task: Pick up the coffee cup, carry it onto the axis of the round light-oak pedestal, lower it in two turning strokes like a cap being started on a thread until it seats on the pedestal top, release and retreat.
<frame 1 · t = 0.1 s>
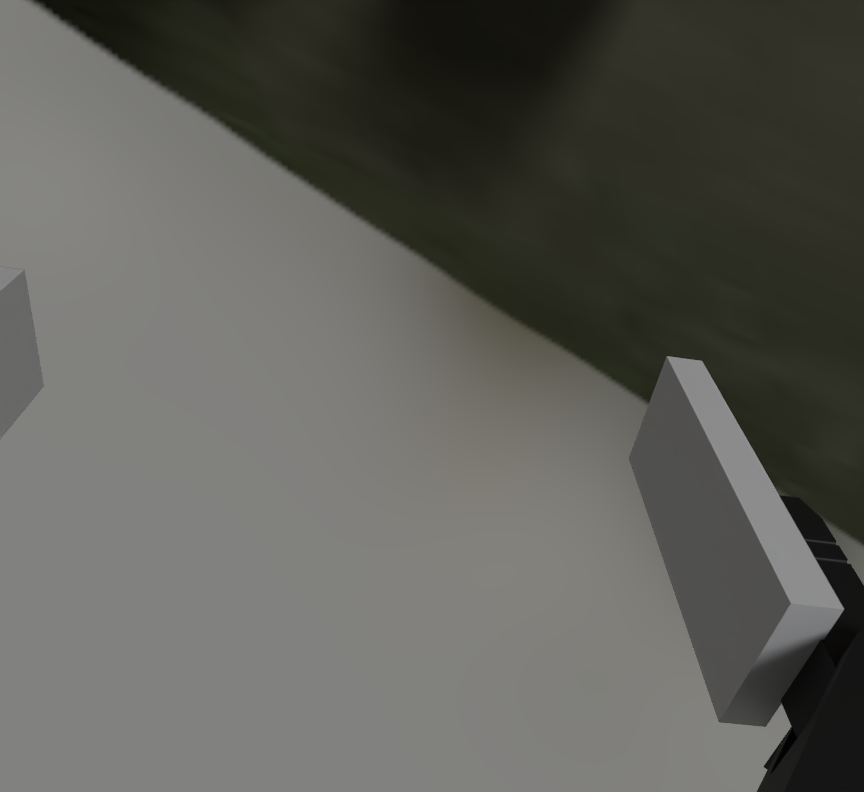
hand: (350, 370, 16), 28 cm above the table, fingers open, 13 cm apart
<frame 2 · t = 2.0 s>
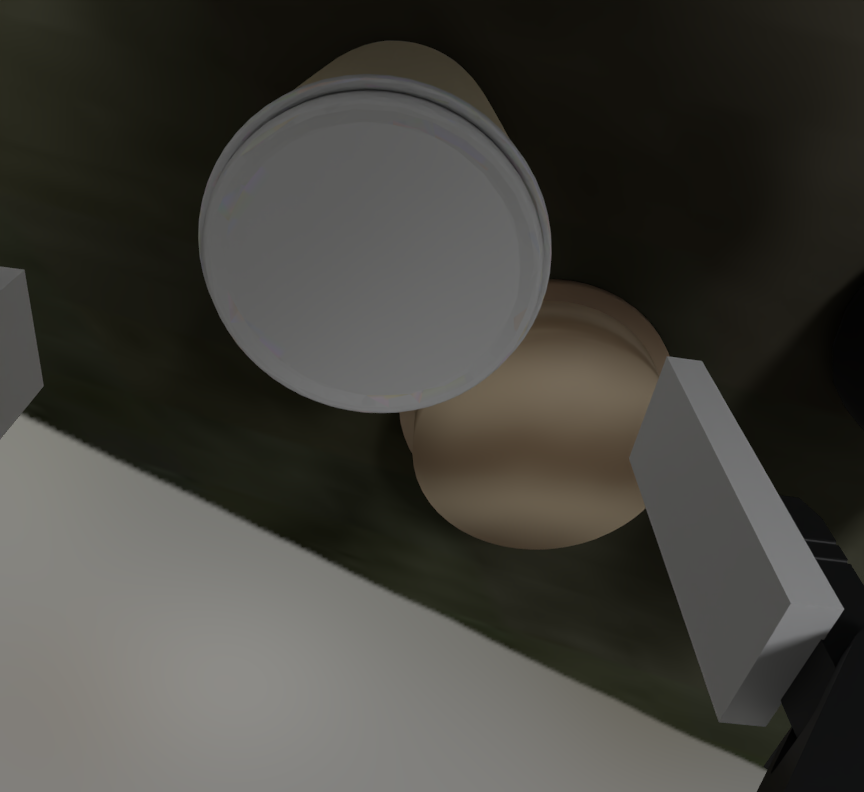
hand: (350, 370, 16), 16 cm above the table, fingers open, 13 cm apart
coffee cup: (397, 145, 29), on the table
pedestal: (535, 403, 36), on the table
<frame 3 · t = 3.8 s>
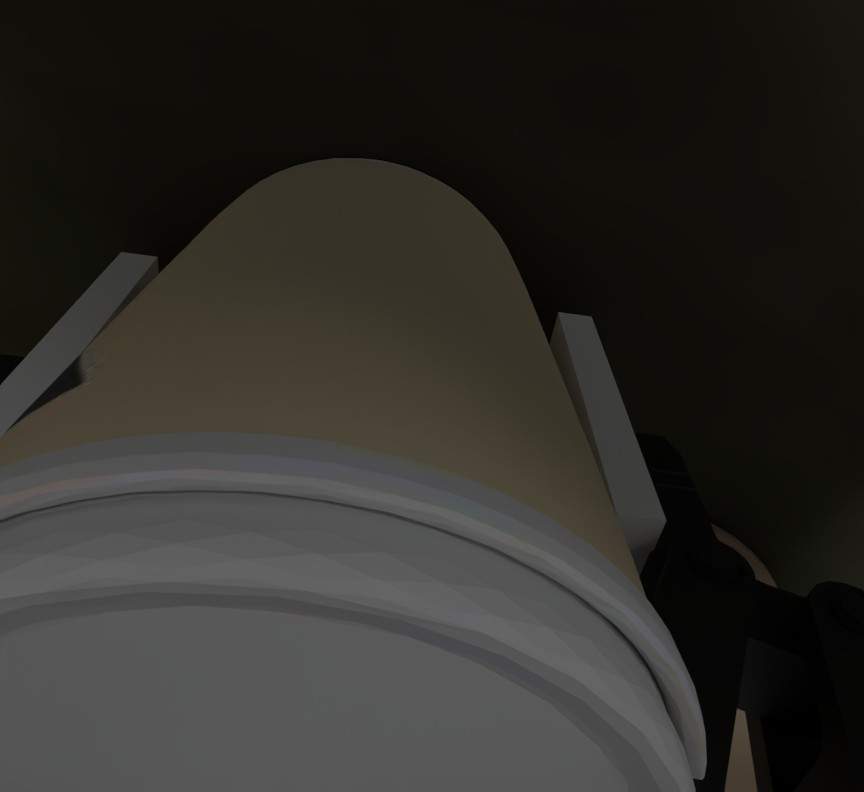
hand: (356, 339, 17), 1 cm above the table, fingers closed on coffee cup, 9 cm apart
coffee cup: (360, 315, 18), on the table, touching gripper
pedestal: (575, 651, 24), on the table
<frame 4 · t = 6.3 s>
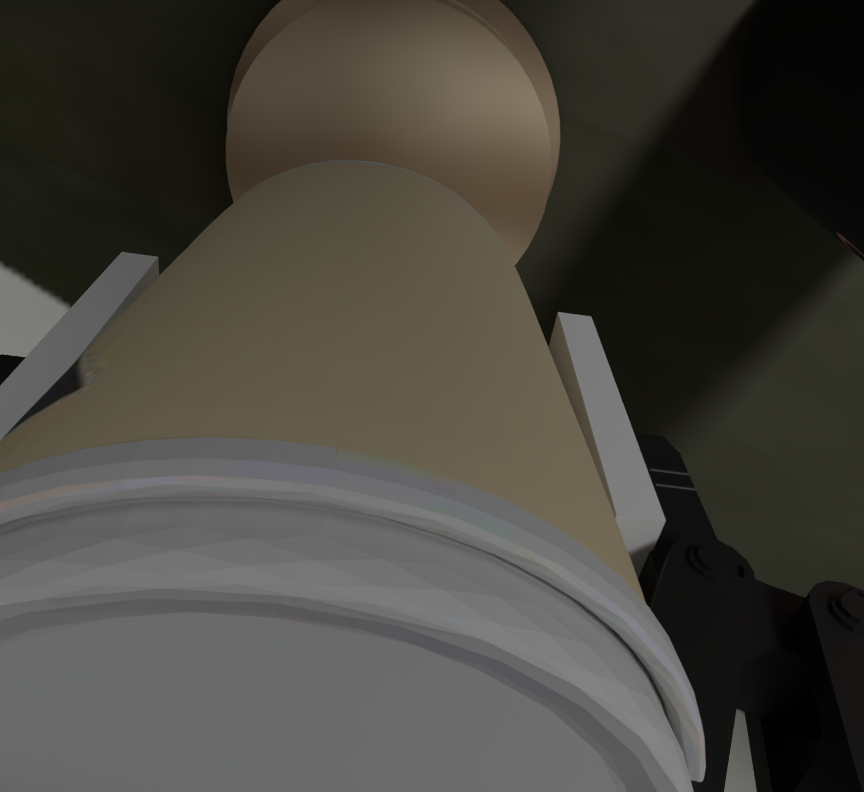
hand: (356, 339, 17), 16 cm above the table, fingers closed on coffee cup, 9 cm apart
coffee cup: (360, 317, 18), point 15 cm above the table, touching gripper
pedestal: (394, 145, 30), on the table
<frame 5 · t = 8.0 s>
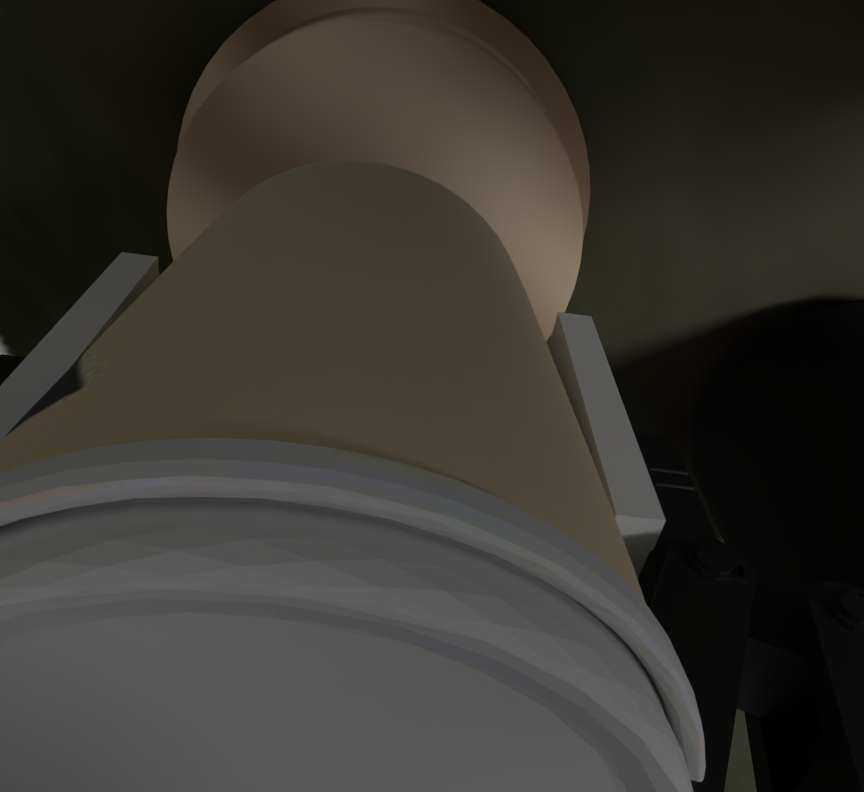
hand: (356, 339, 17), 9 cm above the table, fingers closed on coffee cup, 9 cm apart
coffee jar: (822, 408, 29), on the table
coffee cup: (360, 317, 18), point 8 cm above the table, touching gripper
pedestal: (384, 203, 24), on the table
when the fingers open (5 cm above the table, at t = 9.2 s): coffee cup stays where it is, resting on pedestal.
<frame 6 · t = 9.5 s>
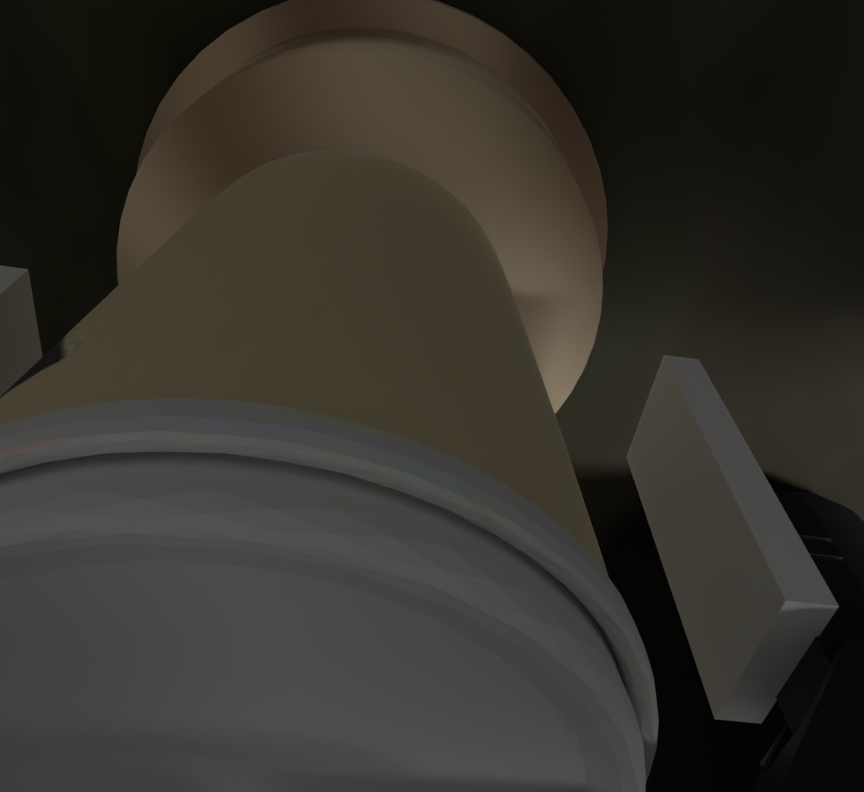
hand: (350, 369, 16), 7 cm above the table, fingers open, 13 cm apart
coffee jar: (721, 570, 29), on the table
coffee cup: (347, 306, 18), point 4 cm above the table, touching pedestal
pedestal: (373, 247, 21), on the table
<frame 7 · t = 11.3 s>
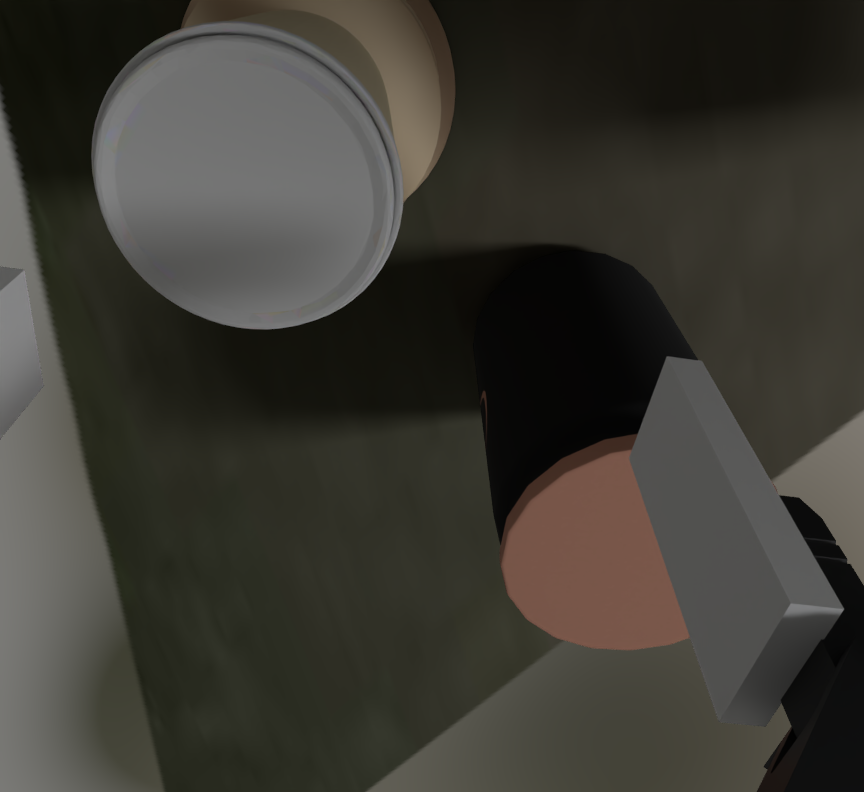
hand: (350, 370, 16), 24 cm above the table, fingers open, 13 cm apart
coffee jar: (564, 328, 43), on the table
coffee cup: (300, 107, 32), point 4 cm above the table, touching pedestal
pedestal: (318, 90, 36), on the table
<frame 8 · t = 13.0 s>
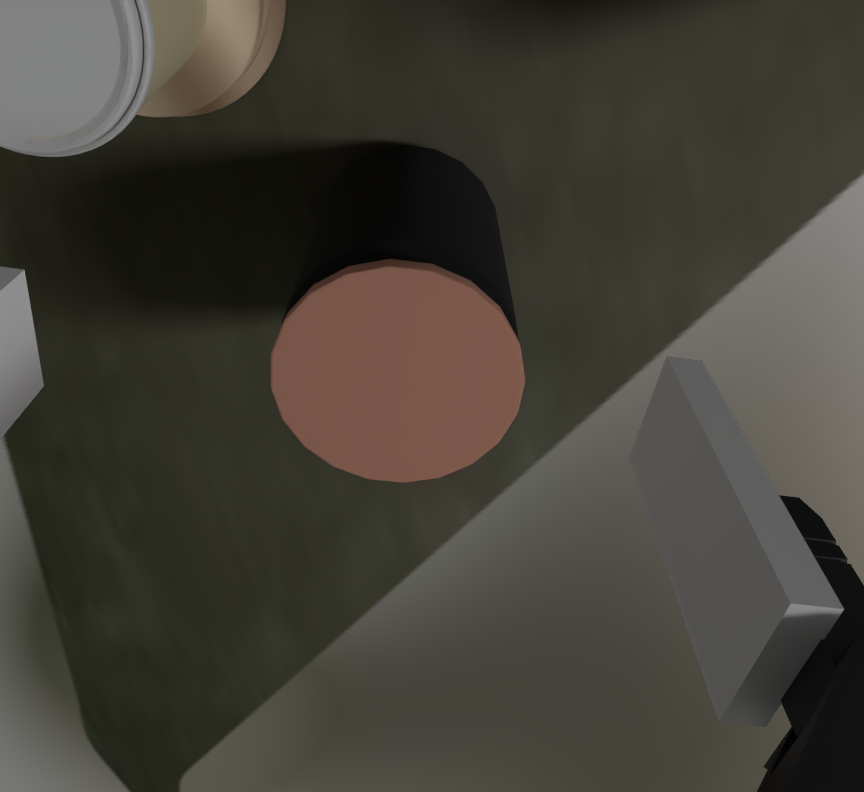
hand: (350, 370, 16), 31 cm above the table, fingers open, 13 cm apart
coffee jar: (410, 226, 46), on the table
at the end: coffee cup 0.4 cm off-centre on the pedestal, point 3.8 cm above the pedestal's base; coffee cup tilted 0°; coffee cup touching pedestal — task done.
